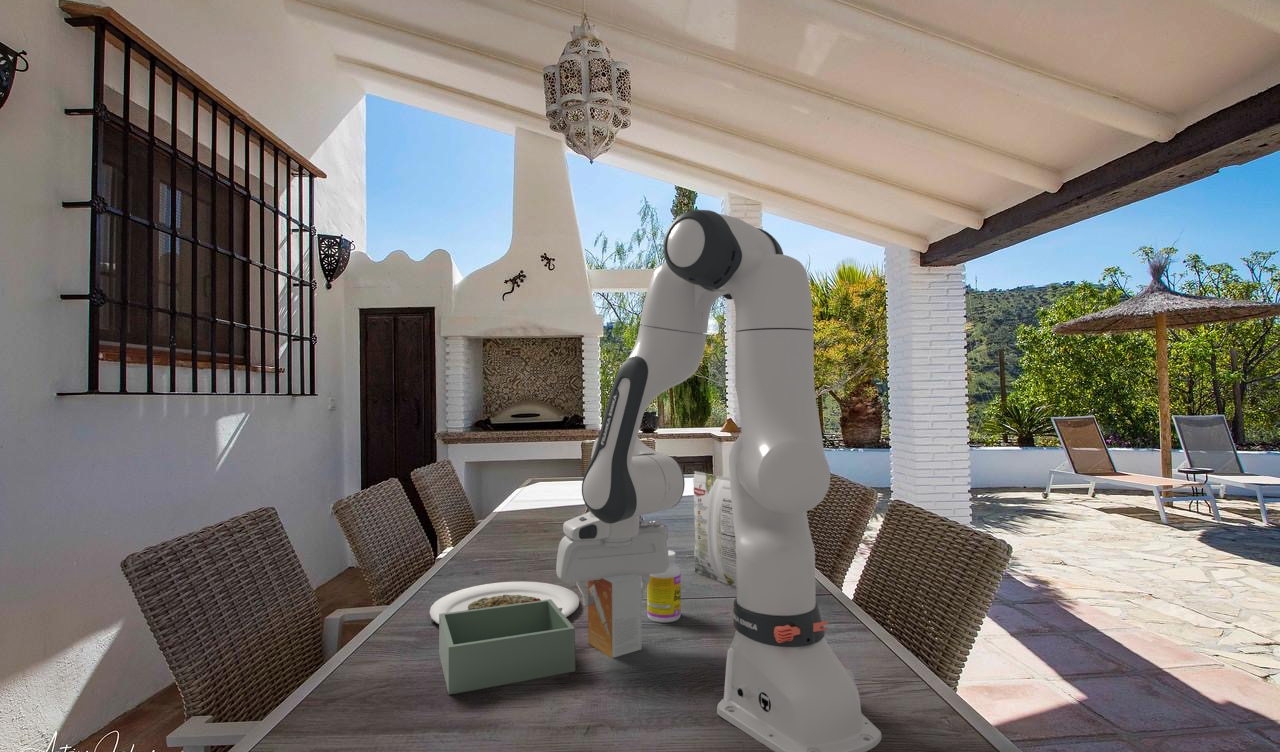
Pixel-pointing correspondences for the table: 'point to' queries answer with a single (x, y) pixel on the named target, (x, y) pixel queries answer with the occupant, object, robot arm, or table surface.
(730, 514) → the frozen beans
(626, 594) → the small box
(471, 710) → the table surface
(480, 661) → the tote
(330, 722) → the table surface
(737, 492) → the robot arm
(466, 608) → the plated food
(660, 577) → the supplement bottle
